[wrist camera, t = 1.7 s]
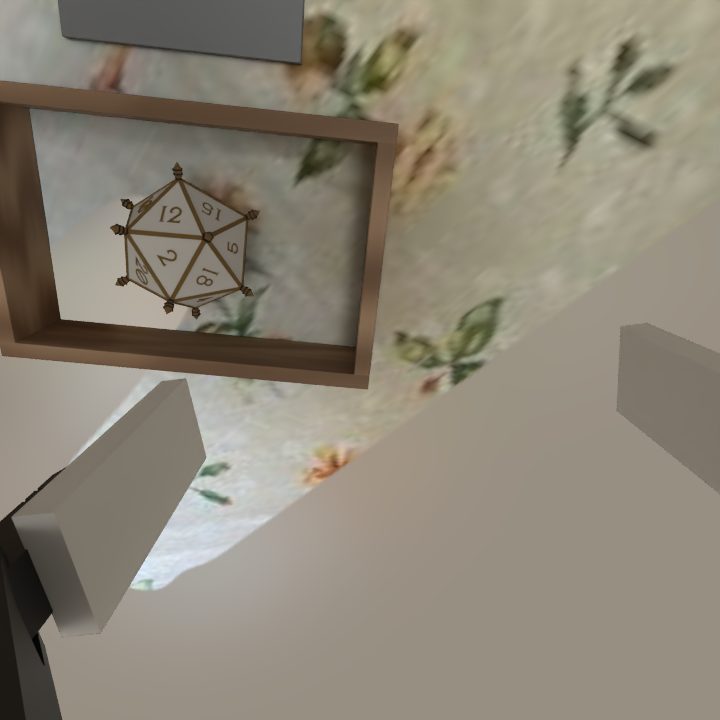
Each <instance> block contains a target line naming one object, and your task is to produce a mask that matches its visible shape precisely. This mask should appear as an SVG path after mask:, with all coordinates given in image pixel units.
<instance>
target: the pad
mask: <svg viewBox="0 0 720 720" xmlns="http://www.w3.org/2000/svg"><path fill="white" fill-rule="evenodd" d="M58 5H59V13H60V22H61V30H62V36H63V37H66V38H69V39H78V40H87V41H95V42H104V43H113V44H122V45H131V46H140V47H149V48H158V49H167V50H176V51H185V52H194V53H203V54H212V55H221V56H230V57H238V58H247V59H256V60H265V61H274V62H283V63H292V64H301V65H302V42H303V19H304V0H58Z"/></svg>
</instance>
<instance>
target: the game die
mask: <svg viewBox="0 0 720 720" xmlns="http://www.w3.org/2000/svg"><path fill="white" fill-rule="evenodd" d="M172 170H173V172H174V173H173V174H174V175H175V180H174V181H172V182H170V183H169V184H167V185H166V186H164V187H163V188H161V189H159V190H158V191H156V192H155V193H153V194H152V195H150V196H148V197H147V198H145V199H144V200H142V201H140V202H139V203H137V204H136V205H133V204H132V201H131V202H130V201H129V199H127V200H126V199H121V202H122V206H124V207H126V208H127V209H131V211H130V214H129V218H128V221H127V225H126V228H124V227H123V226H121V225H118V224H116V225H114V226H112V227H110V228H111V229H112V230H113V231H114V233H115V235H116V234H119V235H122V234H124V238H125V255H126V272H127V276H126V277H121V278H118V280H117V282H116V285H119V286H124V285H125V284H127V283H128V282H129V281H131V282H133V283H135V284H137V285H139V286H140V287H142V288H144V289H146V290H148V291H150V292H152V293H153V294H155V295H157V296H159V297H161V298H163V299H164V300H166V301H167V302H166V303H164V304H165V306H164V307H163V308H164V309H165V311H166V314H168V313H170V312H171V311H173V308H174V304H179V305H183V306H187V307H191V308H193V309H192V316H194V317H195V318H196V319H197V318H198V316H199V315H200V314H201V313H200V312H199V311H200V310H199V309H198V307H200V306H202V305H205V304H207V303H210V302H212V301H214V300H217V299H219V298H221V297H224V296H226V295H229V294H231V293H233V292H236V291H238V290H241V291H242V292H243V293H242V294H245V296H254V295H253V293H252V291H251V289H249V288H248V287H245V286H244V285H243V284H244V270H245V256H246V242H247V227H248V220H250V219H252V220H253V219H254V218H257V215H258V214H259V212H260V211H256V210H252V211H250V212H248V214H247V215H244V214H242V213H241V212H239V211H237V210H235V209H234V208H232V207H230V206H228V205H227V204H225V203H223V202H221V201H220V200H218V199H216V198H214V197H213V196H211V195H209V194H207V193H206V192H204V191H202V190H200V189H199V188H197V187H195V186H193V185H192V184H190V183H188V182H186V181H185V180H183V179H182V175H183V173H182V168H181V167H180V166H179V164H178V163H177V162H176V164H175V166H174V168H173V169H172ZM173 303H174V304H173Z"/></svg>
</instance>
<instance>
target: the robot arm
mask: <svg viewBox="0 0 720 720" xmlns="http://www.w3.org/2000/svg"><path fill="white" fill-rule="evenodd" d="M620 329H621V330H620V349H619V350H620V351H619V371H618V392H617V411H618V412H619V413H620V414H621V415H622V416H624V417H625V418H626V419H627V420H629V421H630V422H631V423H632V424H633V425H635V426H636V427H637V428H638V429H640V430H641V431H642V432H643V433H645V434H646V435H647V436H648V437H650V438H651V439H652V440H653V441H655V442H656V443H657V444H658V445H659V446H661V447H662V448H663V449H664V450H666V451H667V452H668V453H669V454H671V455H672V456H673V457H674V458H676V459H677V460H678V461H679V462H681V463H682V464H683V465H684V466H685V467H687V468H688V469H689V470H690V471H692V472H693V473H694V474H696V475H697V476H698V477H699V478H700V479H702V480H703V481H704V482H705V483H707V484H708V485H709V486H710V487H711V488H713V489H714V490H715V491H717V492H718V493H719V494H720V353H718V352H715V351H713V350H710V349H708V348H706V347H703V346H701V345H699V344H696V343H694V342H691V341H689V340H686V339H684V338H682V337H679V336H677V335H675V334H672V333H670V332H667V331H665V330H663V329H660V328H658V327H655V326H653V325H650V324H648V323H642V324H634V325H627V326H621V328H620ZM205 459H206V454H205V450H204V446H203V442H202V438H201V434H200V430H199V427H198V423H197V419H196V415H195V411H194V407H193V403H192V399H191V395H190V392H189V388H188V384H187V380H186V378H185V379H177V380H169V381H162V382H160V383H159V384H158V385H157V386H156V387H155V388H154V389H153V390H152V391H150V392H149V393H148V394H147V395H146V396H145V397H144V398H143V399H142V400H140V401H139V402H138V403H137V404H136V405H135V406H134V407H133V408H132V409H131V410H129V411H128V412H127V413H126V414H125V415H124V416H123V417H122V418H121V419H119V420H118V421H117V422H116V423H115V424H114V425H113V426H112V427H111V428H109V429H108V430H107V431H106V432H105V433H104V434H103V435H102V436H101V437H99V438H98V439H97V440H96V441H95V442H94V443H93V444H92V445H91V446H89V447H88V448H87V449H86V450H85V451H84V452H83V453H82V454H81V455H80V456H78V457H77V458H76V459H75V460H74V461H73V462H72V463H71V464H70V465H68V466H67V467H65V468H64V469H62V470H60V471H59V472H57V473H55V474H54V475H52V476H51V477H50V478H49V479H48V480H46V481H45V482H44V483H43V484H42V485H41V486H40V487H39V488H38V491H34V492H33V493H32V494H31V495H30V496H28V498H26V499H25V502H22V503H21V504H20V505H18V506H17V507H16V508H15V509H14V510H13V511H12V512H10V513H9V514H8V515H7V516H6V517H5V518H4V519H3V520H1V521H0V720H62V716H61V712H60V708H59V704H58V699H57V696H56V691H55V687H54V683H53V679H52V674H51V670H50V666H49V662H48V657H47V654H46V649H45V645H44V643H43V641H42V638H41V636H40V634H39V632H38V631H39V630H40V628H41V627H42V625H43V624H44V623H45V622H46V620H47V619H48V618H49V616H50V615H51V614H52V615H53V617H54V620H55V622H56V624H57V627H58V629H59V632H60V634H61V637H72V636H82V635H92V634H101V632H102V630H103V629H104V627H105V626H106V623H107V622H108V620H109V619H110V617H111V616H112V614H113V612H114V610H115V609H116V607H117V605H118V604H119V602H120V601H121V599H122V597H123V596H124V594H125V592H126V591H127V589H128V587H129V586H130V584H131V582H132V581H133V579H134V577H135V576H136V574H137V572H138V571H139V569H140V567H141V566H142V564H143V562H144V561H145V559H146V557H147V556H148V554H149V552H150V551H151V549H152V547H153V546H154V544H155V542H156V541H157V539H158V537H159V536H160V534H161V532H162V531H163V529H164V527H165V526H166V524H167V522H168V521H169V519H170V517H171V516H172V514H173V512H174V511H175V509H176V507H177V506H178V504H179V502H180V501H181V499H182V497H183V496H184V494H185V492H186V491H187V489H188V487H189V486H190V484H191V482H192V481H193V479H194V477H195V476H196V474H197V472H198V471H199V469H200V467H201V466H202V464H203V462H204V461H205Z"/></svg>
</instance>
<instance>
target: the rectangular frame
mask: <svg viewBox="0 0 720 720" xmlns="http://www.w3.org/2000/svg"><path fill="white" fill-rule="evenodd" d="M29 108H34V109H44V110H53V111H62V112H72V113H81V114H90V115H100V116H109V117H118V118H128V119H137V120H146V121H156V122H165V123H174V124H184V125H193V126H202V127H212V128H221V129H230V130H239V131H249V132H258V133H267V134H277V135H286V136H295V137H305V138H314V139H323V140H333V141H342V142H351V143H361V144H370V145H376V150H375V160H374V170H373V180H372V190H371V200H370V210H369V219H368V229H367V239H366V249H365V259H364V269H363V279H362V289H361V299H360V308H359V318H358V328H357V338H356V347H348V346H338V345H327V344H316V343H306V342H295V341H285V340H274V339H263V338H253V337H242V336H232V335H221V334H210V333H200V332H189V331H179V330H167V329H157V328H146V327H135V326H126V325H115V324H104V323H94V322H82V321H73V320H62V319H60V312H59V305H58V299H57V292H56V286H55V279H54V272H53V266H52V259H51V253H50V246H49V239H48V233H47V226H46V220H45V213H44V206H43V200H42V193H41V187H40V180H39V173H38V167H37V160H36V154H35V147H34V140H33V134H32V127H31V121H30V114H29ZM398 125H399V124H395V123H386V122H377V121H367V120H358V119H349V118H340V117H331V116H322V115H312V114H303V113H294V112H285V111H276V110H266V109H257V108H248V107H239V106H230V105H220V104H211V103H202V102H193V101H184V100H174V99H165V98H156V97H147V96H138V95H129V94H119V93H110V92H101V91H92V90H83V89H73V88H64V87H55V86H46V85H37V84H27V83H18V82H9V81H0V348H1V353H2V356H9V357H20V358H30V359H41V360H52V361H64V362H74V363H85V364H96V365H108V366H118V367H129V368H139V369H150V370H161V371H172V372H183V373H194V374H205V375H216V376H227V377H238V378H248V379H259V380H270V381H281V382H292V383H303V384H314V385H325V386H336V387H347V388H358V389H368V384H369V375H370V366H371V358H372V349H373V341H374V332H375V323H376V315H377V306H378V297H379V289H380V280H381V272H382V263H383V254H384V246H385V237H386V228H387V220H388V211H389V203H390V194H391V185H392V177H393V168H394V160H395V151H396V142H397V134H398Z"/></svg>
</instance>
